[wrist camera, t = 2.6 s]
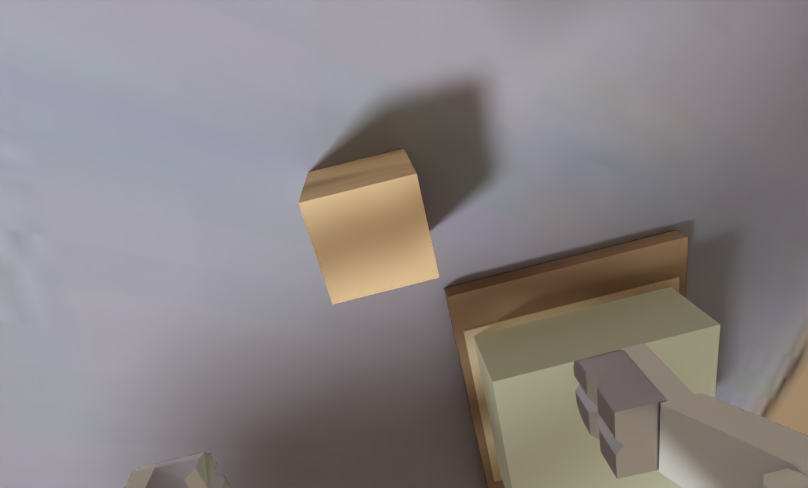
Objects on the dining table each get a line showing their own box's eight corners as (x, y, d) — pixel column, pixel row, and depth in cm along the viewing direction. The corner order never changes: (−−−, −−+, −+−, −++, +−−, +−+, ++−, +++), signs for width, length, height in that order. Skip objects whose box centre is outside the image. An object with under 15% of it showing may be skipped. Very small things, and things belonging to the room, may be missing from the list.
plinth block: (667, 432, 32) (708, 482, 29) (500, 475, 32) (519, 530, 28) (671, 286, 27) (720, 324, 24) (473, 336, 27) (492, 381, 24)
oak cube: (423, 235, 26) (439, 277, 21) (335, 257, 26) (332, 304, 21) (403, 148, 24) (416, 173, 19) (308, 171, 24) (298, 203, 19)
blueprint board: (670, 447, 34) (680, 459, 33) (488, 493, 34) (492, 506, 33) (676, 230, 27) (689, 237, 26) (444, 288, 27) (447, 297, 26)
